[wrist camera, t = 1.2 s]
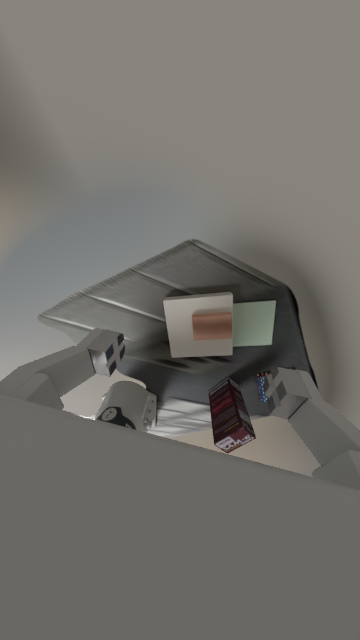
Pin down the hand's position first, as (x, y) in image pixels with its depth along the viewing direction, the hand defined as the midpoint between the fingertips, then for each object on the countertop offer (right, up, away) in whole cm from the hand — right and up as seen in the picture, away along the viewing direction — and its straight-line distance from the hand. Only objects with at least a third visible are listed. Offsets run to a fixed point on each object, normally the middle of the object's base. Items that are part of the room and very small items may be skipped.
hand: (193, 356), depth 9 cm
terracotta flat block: (+7, +1, +32) cm, 33 cm away
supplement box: (+13, -19, +43) cm, 49 cm away
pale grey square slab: (+4, +1, +35) cm, 36 cm away
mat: (+18, +1, +34) cm, 39 cm away
